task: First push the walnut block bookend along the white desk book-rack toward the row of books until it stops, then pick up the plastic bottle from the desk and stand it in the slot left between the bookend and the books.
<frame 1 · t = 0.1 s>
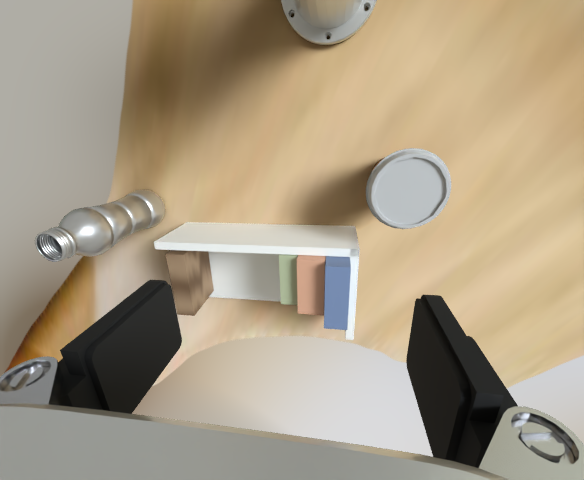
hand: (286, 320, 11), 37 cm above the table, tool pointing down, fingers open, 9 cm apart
bookend: (192, 274, 49), point 5 cm above the table, slide at 0.0 cm
shelf: (269, 262, 52), on the table
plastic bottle: (154, 205, 51), on the table
disposable coffee cup: (391, 176, 43), on the table
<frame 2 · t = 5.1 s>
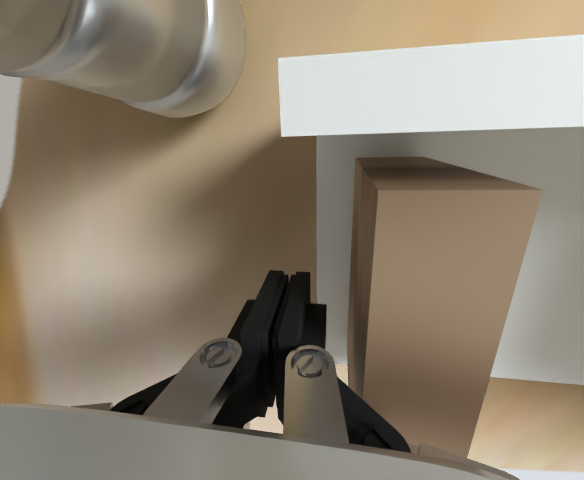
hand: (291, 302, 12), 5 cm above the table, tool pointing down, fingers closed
bookend: (393, 309, 11), point 5 cm above the table, slide at 0.8 cm, touching gripper
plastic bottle: (196, 47, 14), on the table
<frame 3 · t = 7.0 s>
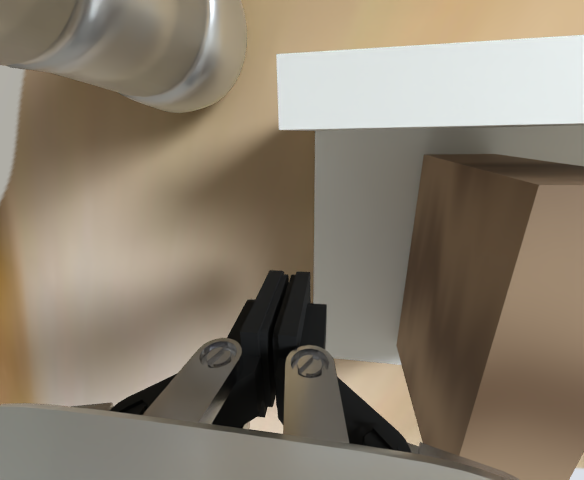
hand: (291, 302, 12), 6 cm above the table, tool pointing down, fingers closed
bookend: (472, 308, 11), point 5 cm above the table, slide at 4.0 cm
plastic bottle: (197, 43, 14), on the table
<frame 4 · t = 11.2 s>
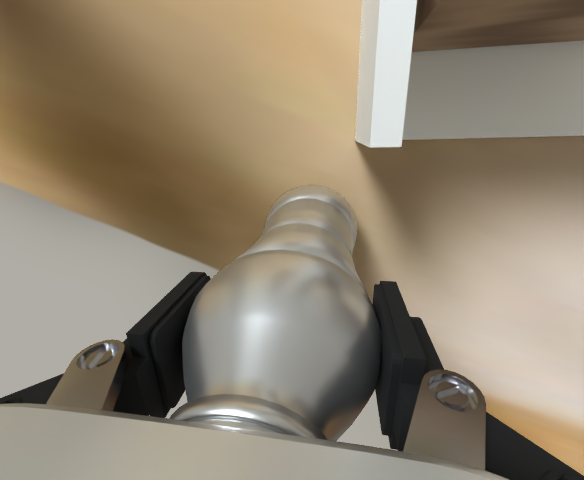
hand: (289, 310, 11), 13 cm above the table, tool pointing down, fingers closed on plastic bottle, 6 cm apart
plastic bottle: (313, 218, 23), on the table, touching gripper
when the fingers open (15 cm above the table, at t = 17.0 s): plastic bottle drops 1 cm, resting on shelf.
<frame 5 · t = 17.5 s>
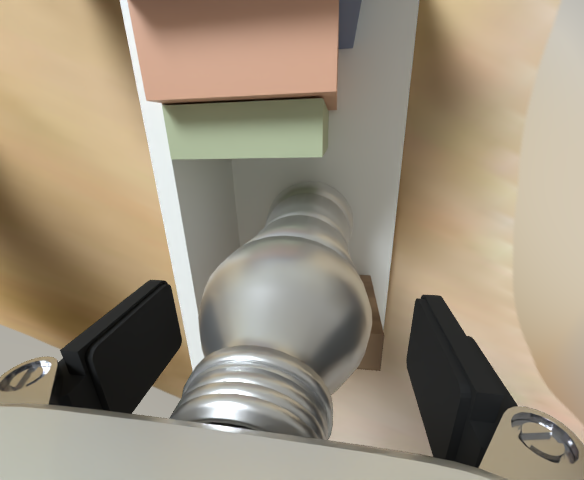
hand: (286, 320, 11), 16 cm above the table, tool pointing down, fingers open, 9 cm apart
bookend: (305, 311, 23), point 5 cm above the table, slide at 4.0 cm
shelf: (307, 195, 25), on the table
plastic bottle: (312, 213, 24), point 1 cm above the table, touching shelf
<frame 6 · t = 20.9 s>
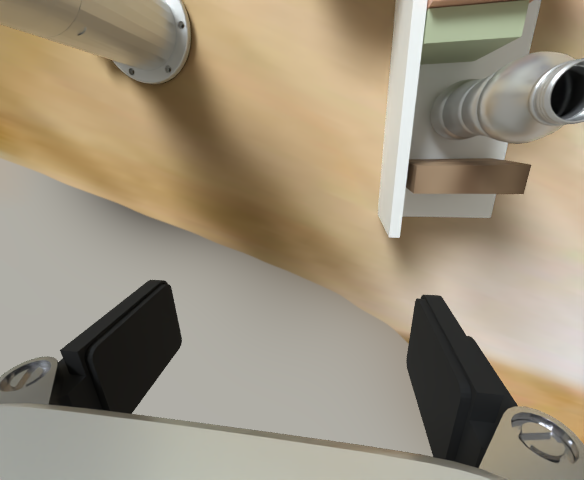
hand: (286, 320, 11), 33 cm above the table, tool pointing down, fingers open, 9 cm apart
bookend: (455, 174, 34), point 5 cm above the table, slide at 4.0 cm
shelf: (448, 100, 36), on the table
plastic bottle: (453, 112, 35), point 1 cm above the table, touching shelf
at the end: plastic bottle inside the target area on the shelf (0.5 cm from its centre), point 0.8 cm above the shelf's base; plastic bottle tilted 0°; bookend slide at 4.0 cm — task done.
